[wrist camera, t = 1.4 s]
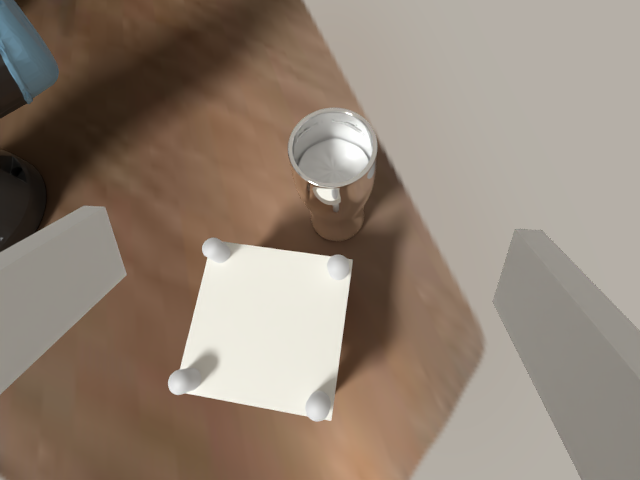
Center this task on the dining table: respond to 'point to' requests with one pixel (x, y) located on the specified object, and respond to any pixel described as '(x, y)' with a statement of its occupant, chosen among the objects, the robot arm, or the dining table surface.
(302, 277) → the shelf stand
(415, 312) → the dining table surface
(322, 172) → the silver metal goblet
